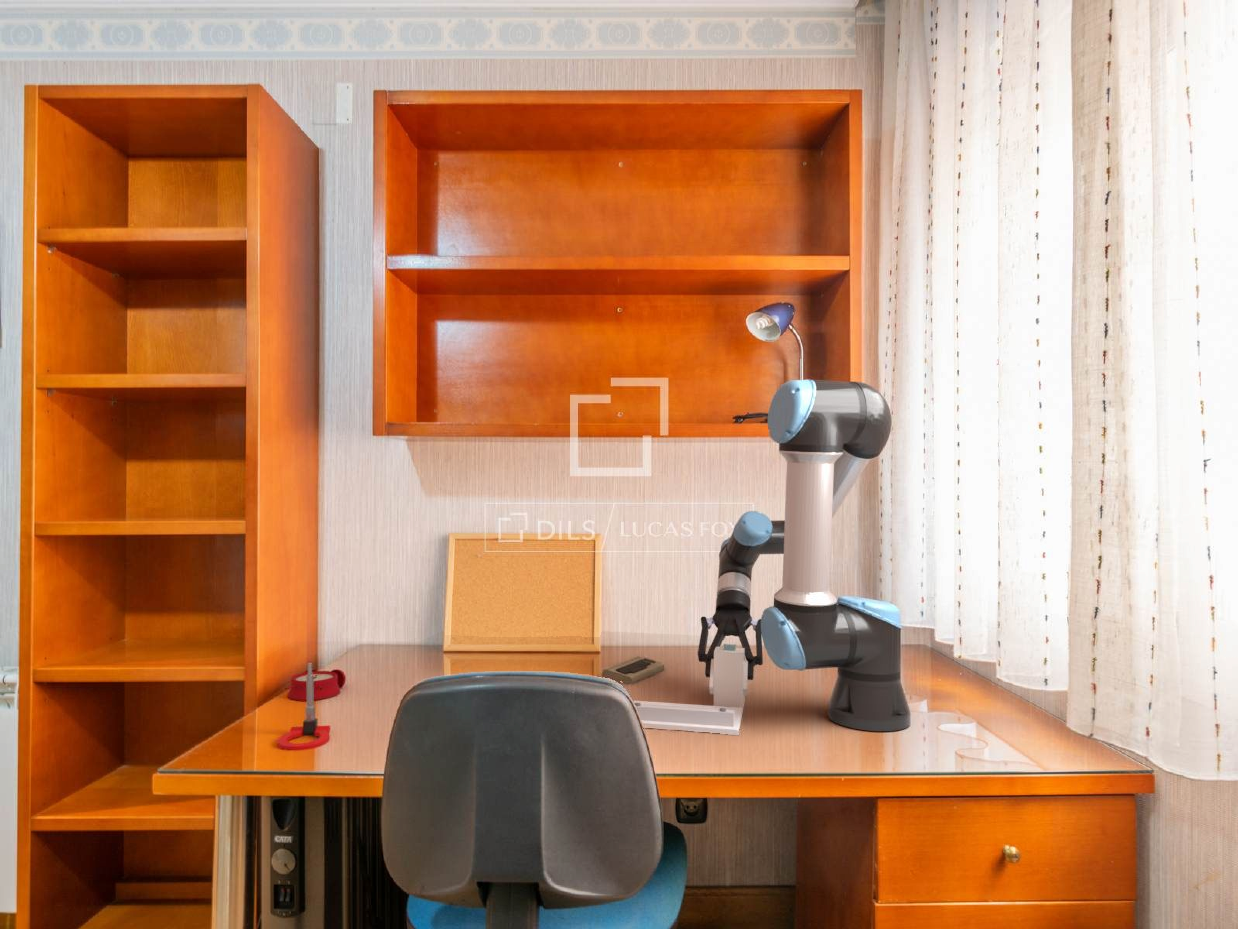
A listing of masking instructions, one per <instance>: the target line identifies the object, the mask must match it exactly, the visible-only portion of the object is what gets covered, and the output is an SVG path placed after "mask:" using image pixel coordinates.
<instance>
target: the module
mask: <svg viewBox="0 0 1238 929" xmlns="http://www.w3.org/2000/svg"><path fill="white" fill-rule="evenodd" d="M744 661H746V657H745V648H742V647H737V646H736V644H730V643H729V644H727V643H726V644H725V643H723V646H720V647H716V648H715V650H714V694H713V706H723V707H738V708H743V709H744V707H745V702H746V701H745V699H746V696H743V676H744Z"/></svg>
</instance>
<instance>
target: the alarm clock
mask: <svg viewBox="0 0 1238 929" xmlns="http://www.w3.org/2000/svg"><path fill="white" fill-rule="evenodd" d="M312 674H313V675H314V701H315V700H316V701H317V700H324V699H329V698H332V697H336V696H337V695H339V694H340V693H341V688H343V687H344V686H345V684H346V679H347V678H346V674H345V672H344V670H341V669H338V668H337V669H332V670H331V671H329V670H317V669H313V668H312ZM307 675H308V669H307V670H305V671H304V672H302V673H298V674H294V675H293V676H292V677H291V679H290V686H289V687H285V690H287V691H288V692H287V698H289V699H291V700H295V701H301V702H302V703H304V702H305V703H307V678H306V676H307ZM288 689H289V690H288Z"/></svg>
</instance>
